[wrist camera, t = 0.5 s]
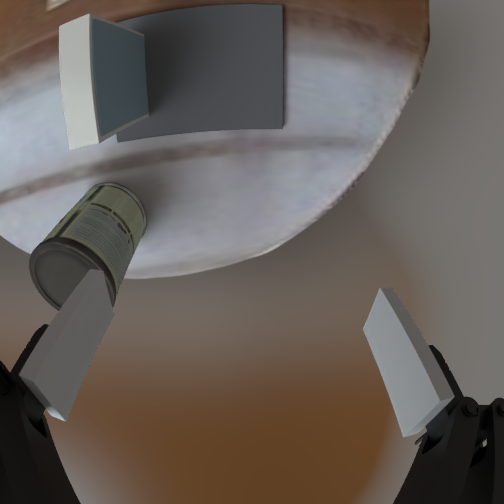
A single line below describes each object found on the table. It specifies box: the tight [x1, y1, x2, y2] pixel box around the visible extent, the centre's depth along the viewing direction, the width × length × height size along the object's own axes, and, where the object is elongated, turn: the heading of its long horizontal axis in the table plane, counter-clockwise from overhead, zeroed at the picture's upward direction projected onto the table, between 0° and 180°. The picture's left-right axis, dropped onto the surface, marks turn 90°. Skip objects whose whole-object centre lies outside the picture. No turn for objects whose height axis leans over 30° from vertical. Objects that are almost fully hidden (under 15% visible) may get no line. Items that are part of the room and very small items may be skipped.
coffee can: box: [29, 183, 146, 311], centre depth 29 cm, size 10×10×14 cm
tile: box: [59, 14, 149, 150], centre depth 18 cm, size 10×3×13 cm, turn 1°
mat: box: [116, 4, 283, 142], centre depth 24 cm, size 15×19×1 cm
